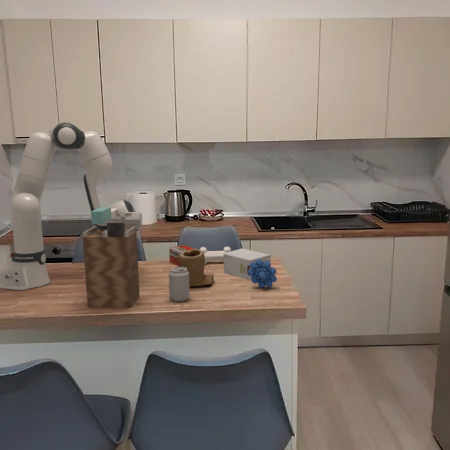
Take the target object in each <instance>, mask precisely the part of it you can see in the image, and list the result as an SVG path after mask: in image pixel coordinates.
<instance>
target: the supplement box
mask: <svg viewBox="0 0 450 450" xmlns="http://www.w3.org/2000/svg"><path fill="white" fill-rule="evenodd" d="M271 256H272V255H271V253H270V254H269V253H266V252H265V253H264V252H260V251H255V250H252V249H246V248H243V247H242V248H239V249H235V250H231V252H227V253H224V260H223V273H224V274H227V275H230V276H233V277H238V278H241V279H245V280H249V281H251V277H252V276H250V275H249V274H248V270H249V269H251V268H250V263H252V262H254V263H256V260H258V259H261V260H262V261H263V263H264V262H265V261H268V262H270V264H272V263H271V258H272V257H271Z"/></svg>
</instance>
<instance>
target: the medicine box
mask: <svg viewBox="0 0 450 450" xmlns="http://www.w3.org/2000/svg"><path fill="white" fill-rule="evenodd" d="M192 249H194V248H193V247H191V246H187V245H185V244H182V245H181V244H180V245H176V246H170V247H169V250H168V251H169V252H168V253H169V263H171V264H172V265H174V266H176V265H177V266H176V267H180V262H179V256H180V254H181V253H182V252H184V251H189V250H192Z"/></svg>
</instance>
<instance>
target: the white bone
mask: <svg viewBox="0 0 450 450" xmlns="http://www.w3.org/2000/svg"><path fill="white" fill-rule="evenodd" d="M199 250H202V251H203V253H204V255H205V265H207V264H208V261H224V253H227V252H231V251H232V249H231V247H229V246H224V248H223V250H208V249H207V248H206V247H204V246H201V247H200V248H199Z"/></svg>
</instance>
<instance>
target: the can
mask: <svg viewBox="0 0 450 450" xmlns="http://www.w3.org/2000/svg"><path fill="white" fill-rule="evenodd" d="M168 286H169V287H168V288H169V290H168V291H169V299H170V300H171V301H172V302H176V303H182V302H183V303H184V302H187V300H188V299H190V297H191V296H190V286H189V272H188V271H187V268H185V267H179V266H175V267H171V268H170V269H169V273H168Z"/></svg>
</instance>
